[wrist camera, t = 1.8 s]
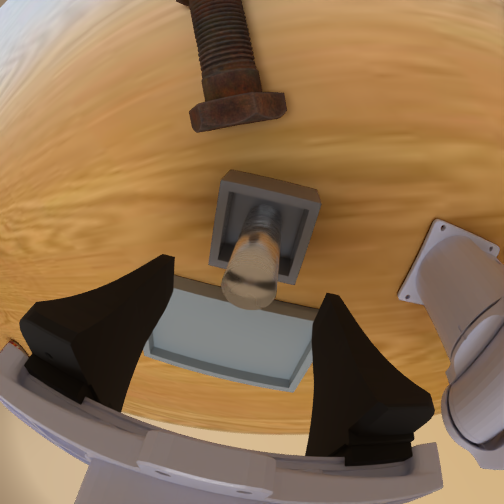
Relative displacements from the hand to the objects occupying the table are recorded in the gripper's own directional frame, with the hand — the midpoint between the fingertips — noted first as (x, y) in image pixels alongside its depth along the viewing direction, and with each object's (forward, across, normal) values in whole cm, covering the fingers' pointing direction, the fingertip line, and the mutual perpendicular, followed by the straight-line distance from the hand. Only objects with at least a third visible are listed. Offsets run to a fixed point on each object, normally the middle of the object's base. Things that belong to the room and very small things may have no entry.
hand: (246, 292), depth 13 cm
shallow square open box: (+9, 0, 0) cm, 9 cm away
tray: (+9, +1, +13) cm, 16 cm away
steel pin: (+8, 0, 0) cm, 8 cm away
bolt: (+9, +5, -14) cm, 17 cm away
